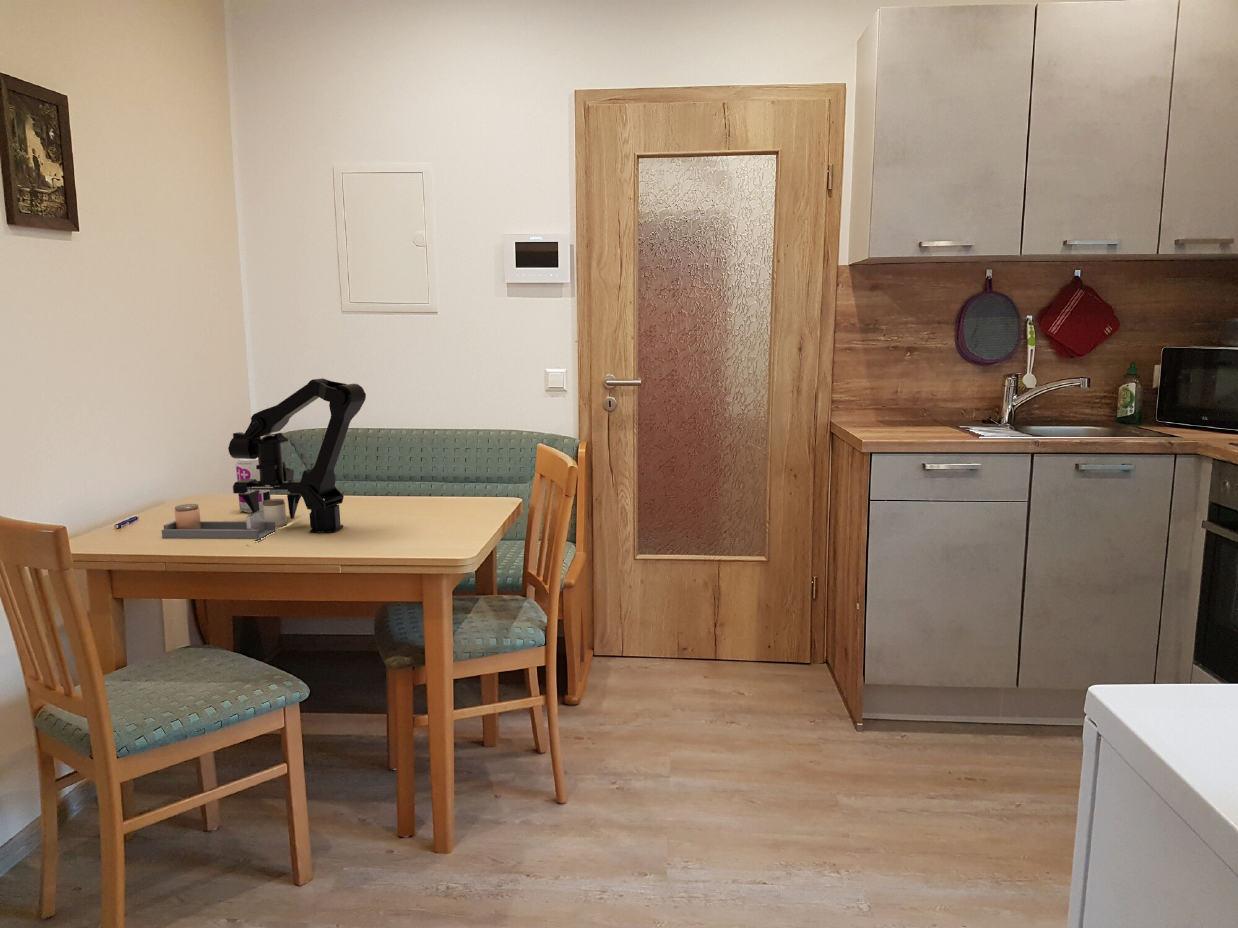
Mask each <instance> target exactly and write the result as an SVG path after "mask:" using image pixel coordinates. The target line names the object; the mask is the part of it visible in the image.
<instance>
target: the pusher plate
mask: <svg viewBox="0 0 1238 928" xmlns="http://www.w3.org/2000/svg"><path fill="white" fill-rule="evenodd" d="M245 518H246V520H245V521H247V530H258V531H259V532H261V531H263V530H265V522H264V511H263V510H259V511H257V512H255V513H249V515H247V516H245Z"/></svg>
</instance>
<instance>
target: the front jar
mask: <svg viewBox="0 0 1238 928" xmlns="http://www.w3.org/2000/svg"><path fill="white" fill-rule="evenodd" d="M174 517H175V520H176V529H201V521H202V520H201V513H200V507H199V504H197V503H184V504H180V505H176V506H174ZM175 520H174V521H175Z"/></svg>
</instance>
